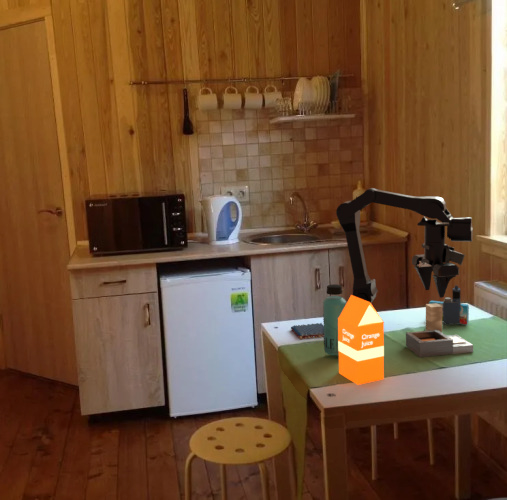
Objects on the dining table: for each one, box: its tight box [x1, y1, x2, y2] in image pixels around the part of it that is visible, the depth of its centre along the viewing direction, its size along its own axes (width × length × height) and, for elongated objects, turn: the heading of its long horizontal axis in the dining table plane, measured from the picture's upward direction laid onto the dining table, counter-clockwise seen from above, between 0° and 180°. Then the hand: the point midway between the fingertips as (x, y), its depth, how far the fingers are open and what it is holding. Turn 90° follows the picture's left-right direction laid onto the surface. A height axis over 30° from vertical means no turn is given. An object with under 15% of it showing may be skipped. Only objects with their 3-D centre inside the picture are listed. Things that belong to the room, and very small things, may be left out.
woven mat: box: [290, 322, 324, 340], centre depth 193 cm, size 10×11×2 cm
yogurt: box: [428, 300, 470, 326], centre depth 197 cm, size 12×2×6 cm, turn 57°
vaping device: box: [442, 285, 462, 325], centre depth 195 cm, size 3×5×12 cm, turn 82°
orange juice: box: [338, 294, 385, 386], centre depth 155 cm, size 8×9×20 cm
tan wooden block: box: [425, 303, 443, 333], centre depth 186 cm, size 4×4×9 cm
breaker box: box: [405, 330, 474, 358], centre depth 174 cm, size 15×9×4 cm, turn 100°
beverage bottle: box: [322, 283, 347, 356], centre depth 170 cm, size 6×7×20 cm
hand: (434, 293), depth 184 cm, fingers open, 9 cm apart
